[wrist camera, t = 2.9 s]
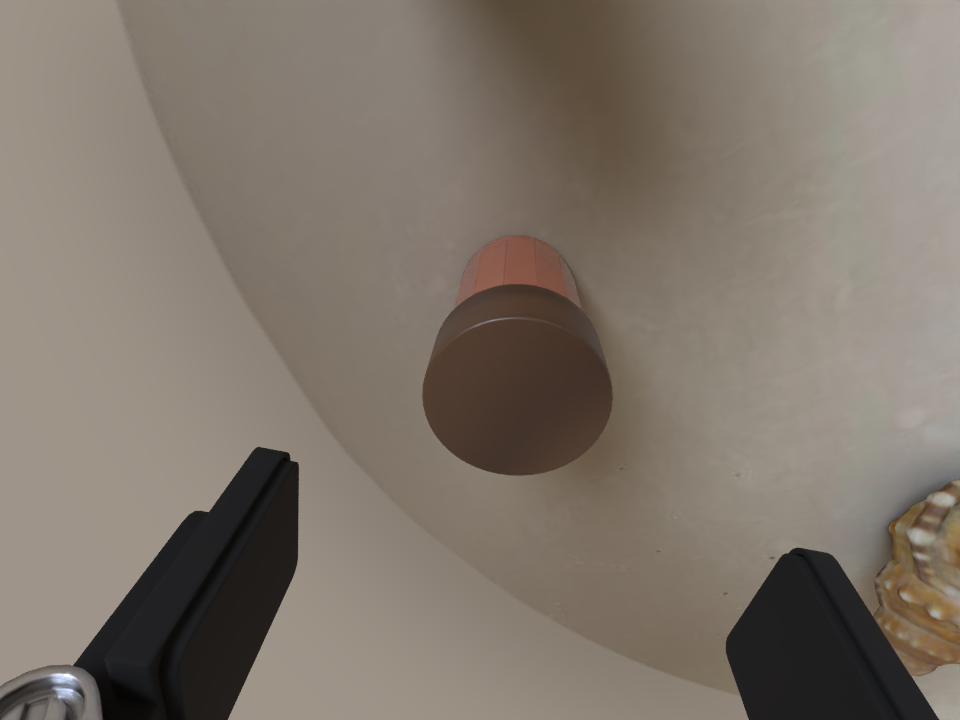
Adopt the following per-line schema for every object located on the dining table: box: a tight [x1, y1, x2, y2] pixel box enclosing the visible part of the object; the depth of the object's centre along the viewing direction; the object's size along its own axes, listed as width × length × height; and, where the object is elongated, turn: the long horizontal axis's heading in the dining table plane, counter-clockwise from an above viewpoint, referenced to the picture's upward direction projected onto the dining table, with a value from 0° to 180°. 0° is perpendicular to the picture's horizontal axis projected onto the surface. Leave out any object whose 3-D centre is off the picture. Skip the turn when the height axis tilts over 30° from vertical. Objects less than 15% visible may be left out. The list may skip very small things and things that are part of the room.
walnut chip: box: [422, 284, 613, 475], centre depth 15 cm, size 5×5×2 cm
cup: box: [454, 236, 582, 310], centre depth 19 cm, size 5×5×6 cm
